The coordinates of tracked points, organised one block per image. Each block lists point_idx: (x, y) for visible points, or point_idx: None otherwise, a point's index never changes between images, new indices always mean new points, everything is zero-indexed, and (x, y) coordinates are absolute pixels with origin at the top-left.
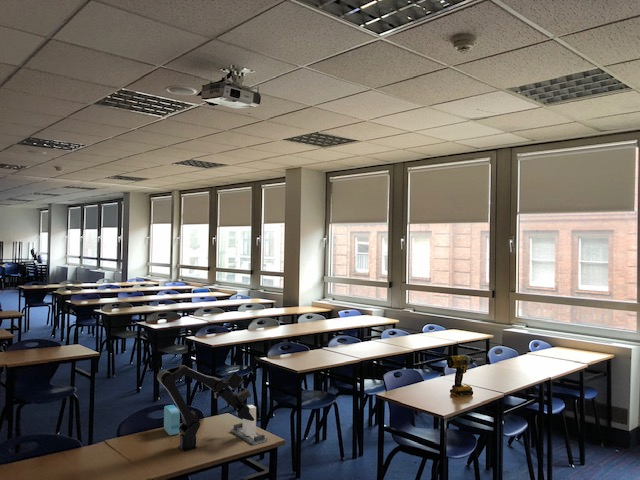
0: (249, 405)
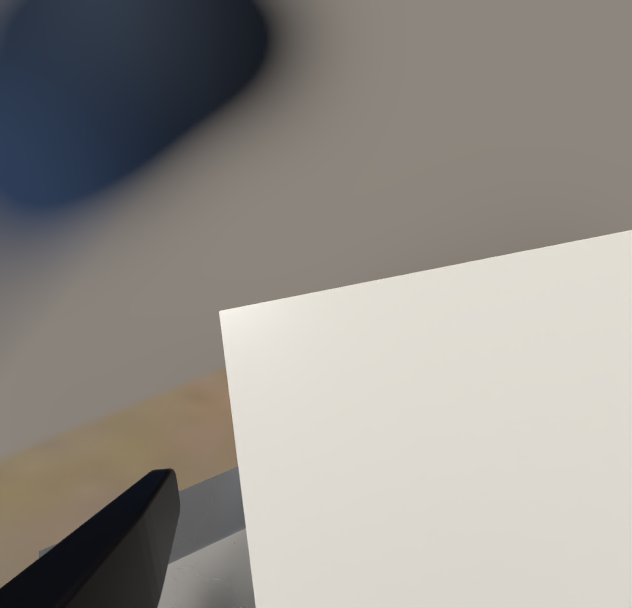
0: (351, 499)
